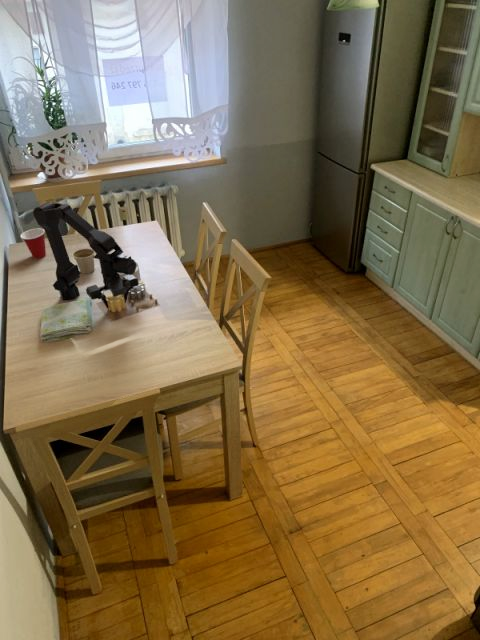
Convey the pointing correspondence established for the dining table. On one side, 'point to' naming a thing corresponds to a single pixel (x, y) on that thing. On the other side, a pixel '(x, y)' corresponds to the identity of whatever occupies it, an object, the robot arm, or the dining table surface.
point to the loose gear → (116, 302)
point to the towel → (66, 320)
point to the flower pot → (85, 260)
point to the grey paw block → (136, 273)
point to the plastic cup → (35, 242)
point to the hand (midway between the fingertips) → (116, 305)
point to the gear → (136, 292)
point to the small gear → (141, 283)
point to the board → (130, 307)
